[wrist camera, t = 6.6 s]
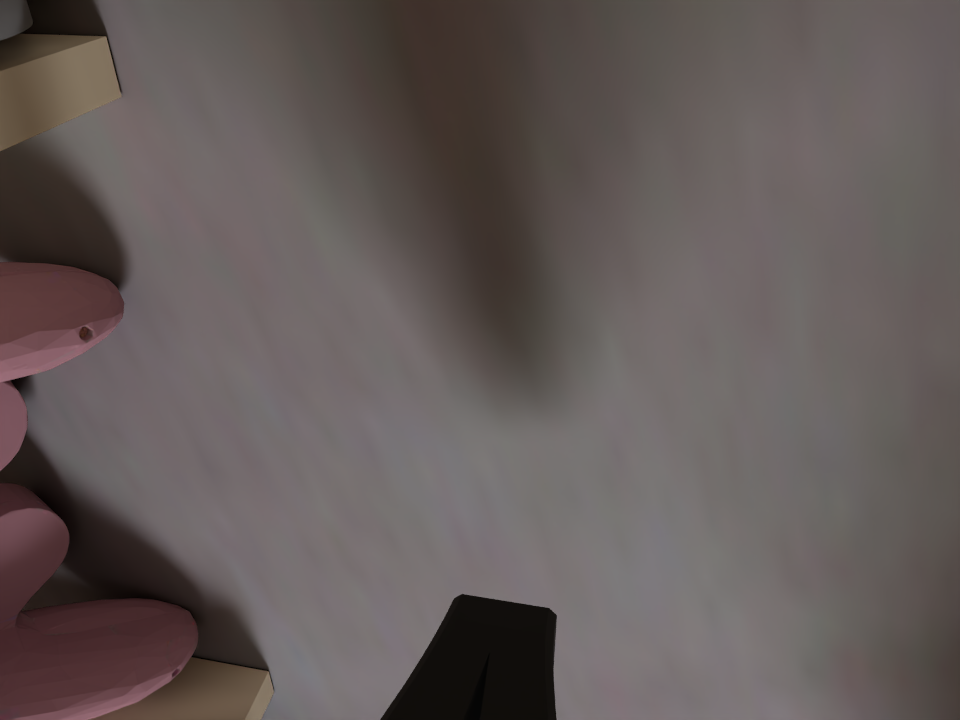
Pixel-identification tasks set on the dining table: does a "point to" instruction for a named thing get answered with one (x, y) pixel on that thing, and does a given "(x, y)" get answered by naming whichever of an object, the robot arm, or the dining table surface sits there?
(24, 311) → the pink toy figure
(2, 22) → the chassis
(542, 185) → the dining table surface
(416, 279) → the dining table surface
